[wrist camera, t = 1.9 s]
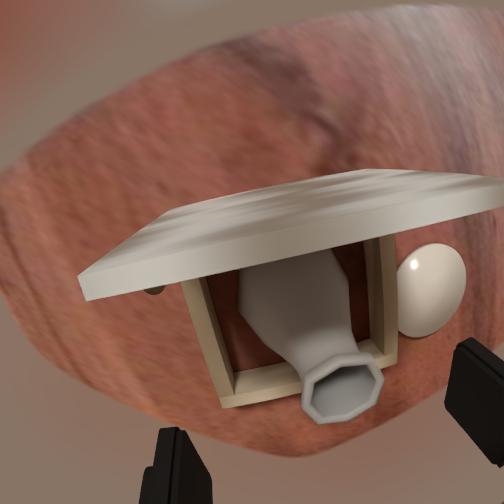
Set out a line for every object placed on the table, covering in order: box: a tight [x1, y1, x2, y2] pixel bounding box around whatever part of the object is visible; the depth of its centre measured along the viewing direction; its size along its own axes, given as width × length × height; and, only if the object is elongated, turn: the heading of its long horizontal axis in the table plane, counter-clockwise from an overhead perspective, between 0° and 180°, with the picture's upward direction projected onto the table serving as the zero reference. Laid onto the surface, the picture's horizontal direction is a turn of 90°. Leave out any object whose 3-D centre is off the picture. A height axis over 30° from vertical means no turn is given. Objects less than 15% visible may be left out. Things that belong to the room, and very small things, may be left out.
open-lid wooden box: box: [77, 169, 504, 408], centre depth 14 cm, size 12×13×12 cm
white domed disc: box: [397, 243, 466, 337], centre depth 20 cm, size 7×7×1 cm
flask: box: [237, 248, 385, 425], centre depth 15 cm, size 7×7×10 cm
